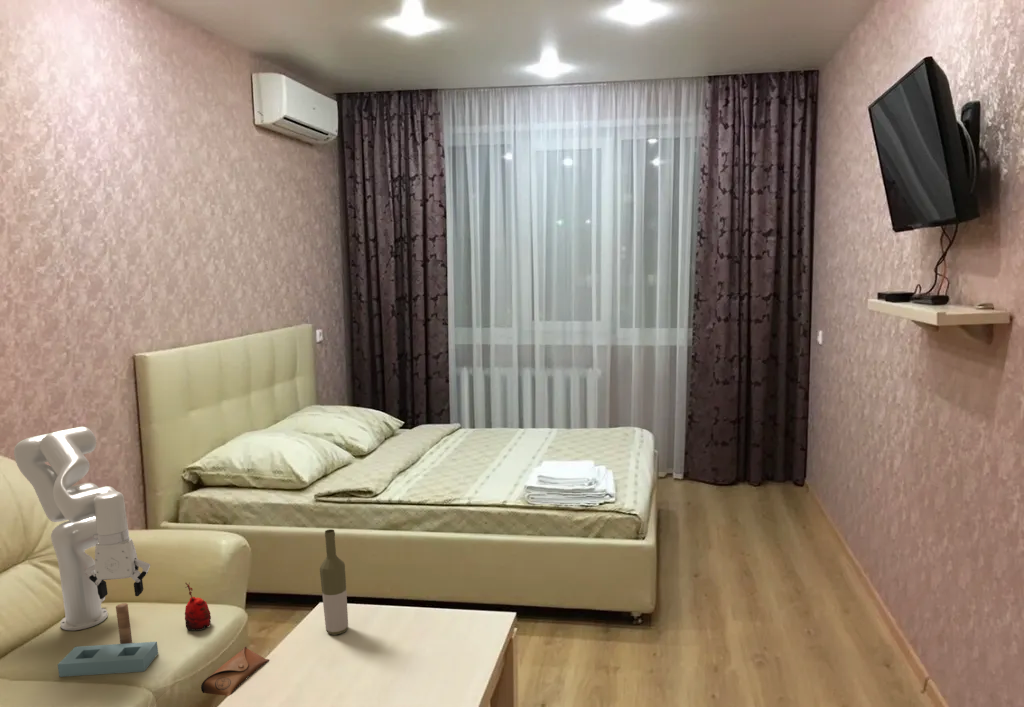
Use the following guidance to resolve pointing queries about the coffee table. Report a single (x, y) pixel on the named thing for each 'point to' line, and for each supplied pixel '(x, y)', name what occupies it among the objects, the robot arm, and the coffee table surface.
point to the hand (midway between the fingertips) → (121, 595)
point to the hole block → (108, 659)
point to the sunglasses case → (233, 673)
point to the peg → (123, 623)
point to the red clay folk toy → (196, 613)
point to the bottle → (334, 588)
